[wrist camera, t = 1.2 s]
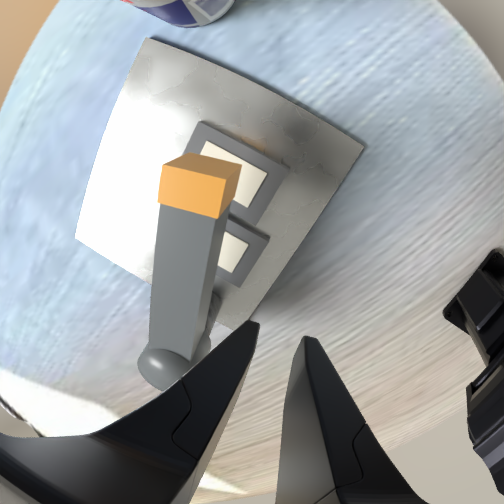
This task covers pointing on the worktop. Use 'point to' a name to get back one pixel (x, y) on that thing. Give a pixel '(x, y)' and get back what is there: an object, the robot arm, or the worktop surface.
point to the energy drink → (184, 10)
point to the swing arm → (186, 263)
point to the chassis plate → (173, 145)
